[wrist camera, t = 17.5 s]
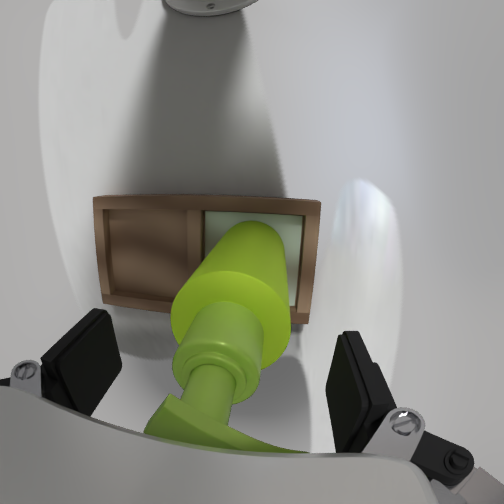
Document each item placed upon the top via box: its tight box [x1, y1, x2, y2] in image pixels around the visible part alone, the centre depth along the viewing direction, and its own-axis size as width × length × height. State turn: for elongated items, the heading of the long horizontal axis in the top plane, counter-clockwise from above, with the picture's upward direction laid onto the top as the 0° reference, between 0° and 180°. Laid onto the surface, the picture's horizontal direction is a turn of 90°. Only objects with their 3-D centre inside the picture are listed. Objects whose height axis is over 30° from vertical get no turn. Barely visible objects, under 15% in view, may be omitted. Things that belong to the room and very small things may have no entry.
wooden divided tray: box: [93, 194, 321, 324], centre depth 25 cm, size 11×22×5 cm, turn 88°
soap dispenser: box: [144, 221, 309, 453], centre depth 16 cm, size 6×7×20 cm
